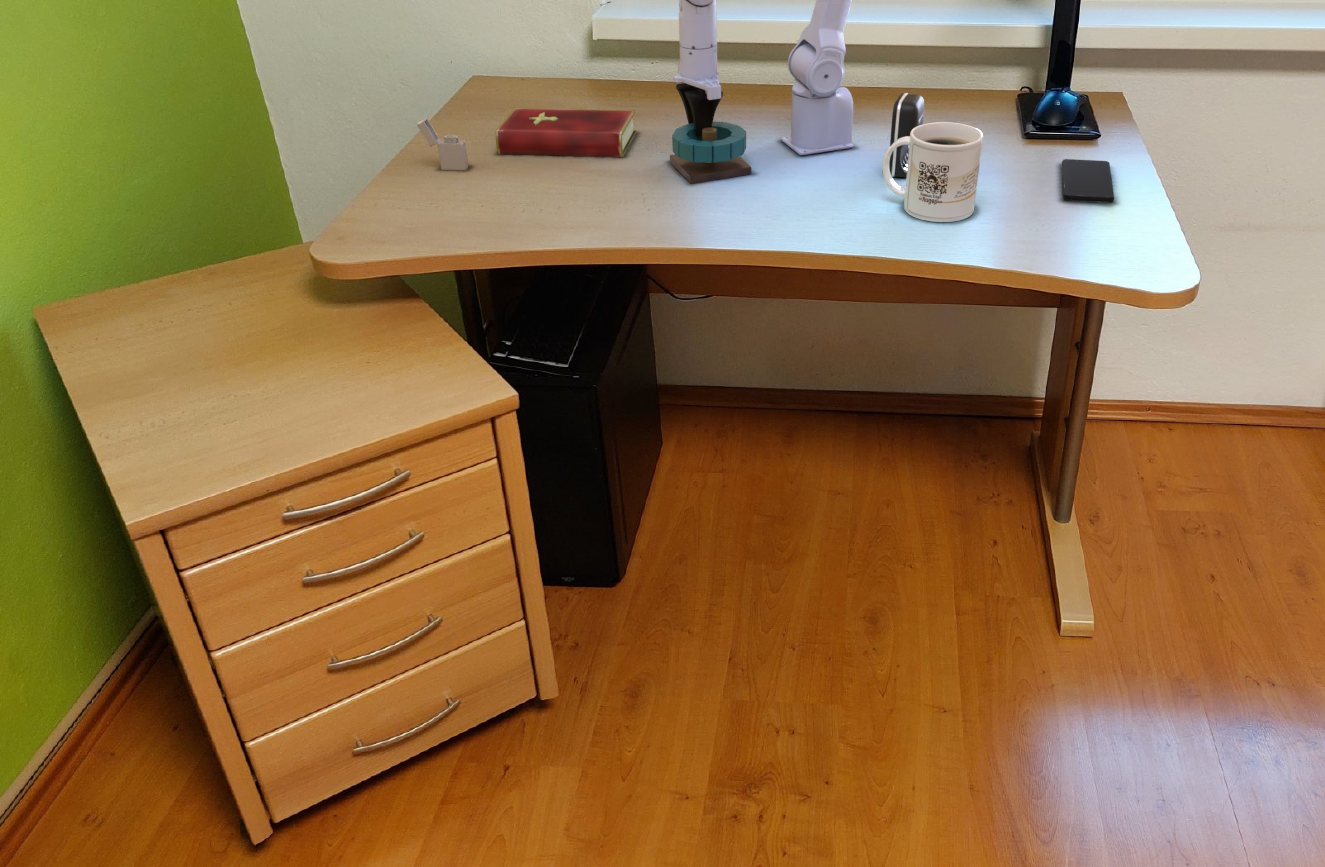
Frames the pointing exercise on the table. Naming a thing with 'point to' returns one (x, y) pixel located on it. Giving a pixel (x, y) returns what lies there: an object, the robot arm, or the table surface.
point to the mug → (939, 171)
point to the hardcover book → (566, 132)
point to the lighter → (446, 147)
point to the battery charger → (904, 129)
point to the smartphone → (1087, 180)
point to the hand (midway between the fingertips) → (699, 132)
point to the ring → (709, 143)
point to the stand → (710, 165)
